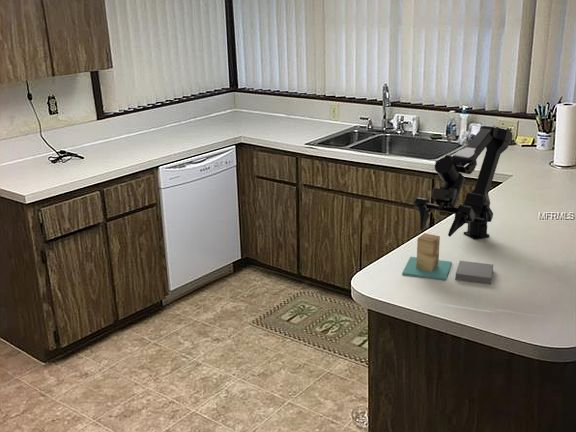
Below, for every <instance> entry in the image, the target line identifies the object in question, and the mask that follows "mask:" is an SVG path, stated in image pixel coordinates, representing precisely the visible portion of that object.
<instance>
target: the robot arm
mask: <svg viewBox="0 0 576 432" xmlns="http://www.w3.org/2000/svg"><path fill="white" fill-rule="evenodd" d="M513 137H514V136H513V132H512V131H511V129H510V128H508V127H502V126H501V127H500V126H496V125H492V124H491V125H490V124H482V125H481V126H480V128H479V131H477V133H476V134H475V135H474V137H473V138H472V139H471V141H470V142H469V143H468V145H466V147H464V148H462V149H459V150H457V151H456V152H455V153H454V154H453V155H449V154H445V156H444V157H442V158H440V159H438V160H437V161H435V163H434V170H435V172H436V173H437V174H438V175H437V176H439V178H440V179H441V181H442V182H443V183H442V184H443V185H442V186H440V187H438V188H437V187H433V188H432V191H431V192H432V193H431V197H430V198H431V199H433V202H434V203H433V202H430V201H429V199H428V198H425V197H420V196H417V197H416V198H414V200H413V203H412V205H413V206H414V207H415V209H416V211H417V212H419V218H420V219H419V220H420V221H419V223H420V228H419V229H420V231H421V232H423V231H424V229H425V227H426V224H427V222H428V220H429V217H430V212H431V211H432V210H433V211H438V212H441V213H447V214H453V215H454V218H453V222H452V223H451V225H450V229H449V230H448V235H447V236H448V237H449V238H450V237H451V236H453V234H455V232H456V231H458V230H459V229H460V228H461V227H462V226H464V225H465V224H467V230H466V231H463V235H465V236H468V237H469V238H471V239H473V240H479V239H484V238H488V237H490V234H489V233H488V223H491V222H492V220H493V216H494V212H493V210H492V209H491V200H490V196H489V193H490V189H491V186H492V182H493V179H494V176H495V173H496V170H497V167H498V163H499V161H500V157H501V154H502V153H504V151H506V150H507V149H508V148H509V145H510V143H511V142H512V140H513ZM485 149H486V151H485V153H484V157H483V160H482V163H481V166H480V170H479V173H478V176H477V180H476V183H475V186H474V188H473V190H472V191H471V192H469V191H468V192H467V194H466V196H465V199H464V201H463V203H462V204H459V205H458V207H456V205H457V202H458V201H459V200H460V193H461V191H462V188H463V185H464V186H465V185H467V184H466V180H465V179H466V178H465V176H464V175H463V174H466V175H472V173H473V172H474V171H475V169H476V167H477V165H478V163H477V161H478V158H479V156H480V155H481V154H482V152H483V151H484V150H485Z"/></svg>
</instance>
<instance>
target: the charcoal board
mask: <svg viewBox="0 0 576 432" xmlns="http://www.w3.org/2000/svg"><path fill="white" fill-rule="evenodd" d="M493 271H494V264H493V263H492V264H490V263H483V262H475V261H467V260H466V261H465V260H459V263H458V265H457V268H456V271H455V278H454V279H455V281H461V282H471V283H479V284H486V285H491V282H492V278H493Z"/></svg>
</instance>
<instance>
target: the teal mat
mask: <svg viewBox="0 0 576 432" xmlns="http://www.w3.org/2000/svg"><path fill="white" fill-rule="evenodd" d="M416 263H417V256H416V257H415V256H410V257H409V258H408V261H407V263H406V265H405V267H404V268H403V271H402V272H401V275H402V276H410V277H418V278H424V279H432V280H440V281H446V280H447V277H448V275H449V273H450V269H451V266H452V261H451V260H450V261H448V260H441V259H439V260H438V267H437V268H435V269H434V270H433V271H432V272H430V271H426V270H422V269H417V268H416Z"/></svg>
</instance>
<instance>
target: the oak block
mask: <svg viewBox="0 0 576 432" xmlns="http://www.w3.org/2000/svg"><path fill="white" fill-rule="evenodd" d="M440 238H441V237H440V236H439V235H435V234H431V233H423V234H422V235H420V236H418V237H417V244H416V245H417V247H416V257H417V263H416V268H417V269H422V270H426V271H430V272H432V271H433V270H434V269H435V268H437V267H438V260H440V259H439V258H440V257H439V256H440V242H441V239H440Z"/></svg>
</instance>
